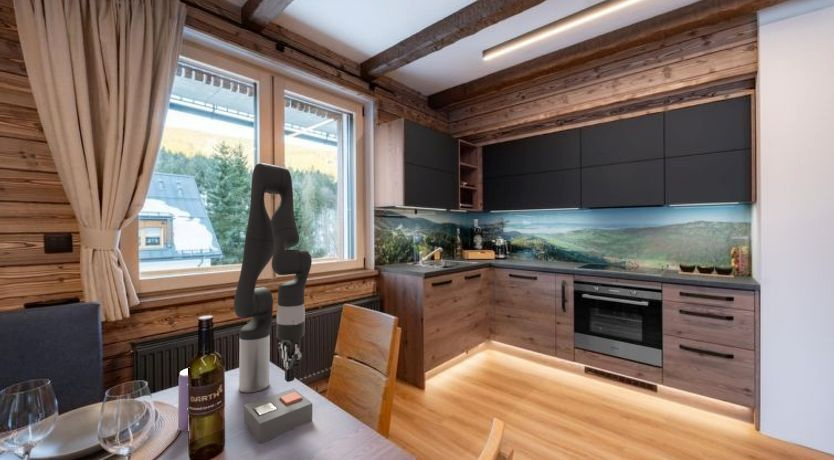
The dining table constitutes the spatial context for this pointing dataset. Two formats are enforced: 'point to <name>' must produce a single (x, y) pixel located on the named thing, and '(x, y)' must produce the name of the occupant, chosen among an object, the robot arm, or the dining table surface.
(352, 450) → the dining table surface
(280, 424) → the grey plug holder
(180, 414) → the beverage can
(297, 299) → the robot arm
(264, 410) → the plug
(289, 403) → the orange cube
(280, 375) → the dining table surface
